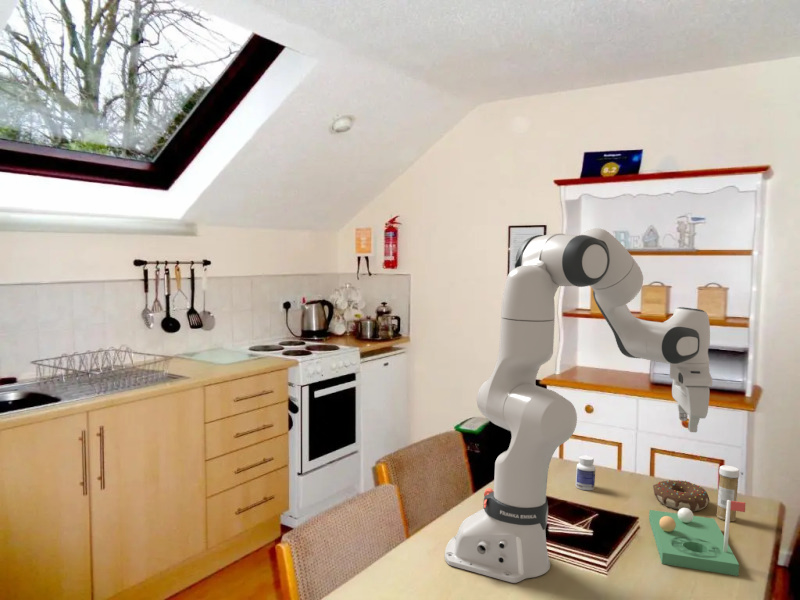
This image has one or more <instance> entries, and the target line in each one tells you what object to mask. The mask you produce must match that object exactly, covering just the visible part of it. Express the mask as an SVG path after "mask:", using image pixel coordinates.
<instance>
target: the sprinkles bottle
mask: <svg viewBox="0 0 800 600" xmlns="http://www.w3.org/2000/svg"><path fill="white" fill-rule="evenodd" d="M718 470H719V471H718V473H719V482H718V483H719V484H718V489H717V490H718V493H717V494H718V495H717V509H716V510H717V511H716V517H717V519H720V520H722V521H725V520H726V507H727V500H730V501H736V502H738V486H739V477H740V469H739V468H737V467H736V466H732V465H725V464H724V465H721V466H719V469H718ZM736 516H737V511H733V510H730V522H735V521H736V520H737V517H736Z"/></svg>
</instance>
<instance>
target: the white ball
mask: <svg viewBox="0 0 800 600" xmlns="http://www.w3.org/2000/svg"><path fill="white" fill-rule="evenodd" d="M677 514H678V518H679V519H680V520H681V521H682V522H684V523H689V522H691V521H692V520H693V516H694V514H693V511H691V510H690V509H688V508H681V509H680V510H678V511H677Z"/></svg>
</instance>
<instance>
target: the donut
mask: <svg viewBox="0 0 800 600" xmlns="http://www.w3.org/2000/svg"><path fill="white" fill-rule="evenodd" d="M652 489H653V493H654V497H655V498H656V500H657V501H658V502H660V503H661V504H663V505H664V506H666V507H668V508H671V509H674V510H678V511H679V510H680V509H681V508H688V509H690V510H691V511H692V512H697V511H698V512H699V511H701V510H703V509H705V508H706V507H707V506H709V503H710V496H709V495H708V492H707V491H706V490H705V489H704V488H703V486H701V485H697V484H696V483H692V482H691V481H687V480H679V479H678V480H675V479H673V480H671V479H669V480H662V481H659V482H657V483H656V484H653V485H652Z"/></svg>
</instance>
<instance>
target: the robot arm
mask: <svg viewBox="0 0 800 600" xmlns="http://www.w3.org/2000/svg"><path fill="white" fill-rule="evenodd" d="M643 283H644V275H643V271H642V270H641V267H640V266H639V264H638V263H637V262H636V260H635V259H634V257H633V256H632V254H631V253H629V251H628V249H627V248H626V247H625V246H624V245H623V243H621V242H620V241H619V240H618V239H617V237H615V236H614V235H613V234H612V233H610V232H609V231H607V230H606V229H604V228H603V229H602V228H600V227H599V228H597V227H596V228H590V229H587V230H586V231H584V232H583V233H581V234H579V235H575V234H565V233H552V234H545V235H543V234H538V235H534V236H531V237H529V238H527V239H525V240H524V241H522V243H521V244H520V245H519V247H518V249H517V252H516V256H515V263H514V268H513V269H511V271H509V273H508V274H507V276H506V280H505V284H504V289H503V293H502V299H501V300H502V301H501V311H500V332H499V347H498V348H499V349H498V354H497V359H496V362H495V366H494V369H493V370H492V373H491V375H490V376H489V378H488V379H487V380H485V381H484V382H483V383H482V384H481V385H480V387H479V388H478V391H477V396H476V404H477V408H478V410H479V412H480V413H481V414H482V415H483V417H485V418H486V419H487V420H488V421H490V422H491V423H492V424H494V425H495V426H498V427H500V428H502V429H504V430H507V431H508V432H510V434H511V437H510V438H511V439H510V443H509V445H508V446H509V447H508V448H507V450H505V451H503V452H502V453H500V454H499V455H498V456H497V458H496V460H495V462H494V475H493V476H494V479H493V481H494V482H493V489H492V487H487V488H486V489H484V493H483V497H484V498H483V504H482V505H483V508H481V509H480V510H478V511H476V512H475V513H472V514H470V515H468V516H467V517H466V518H465V519H464V520H463V521H462V522H461V523H460V526H459V528H458V530H457V533H456V535H455V536H453V537H452V538H450V540H449V541H448V543H447V544H446V546H445V550H444V560H445V562H446V563H447V564H448V565H449V566H452V567H455V568H459V569H462V570H464V571H465V570H466V571H468V572H469V571H470V572H473V573H476V574H479V575H484V576H487V577H490V578H494V579H498V580H501V581H505V582H507V583H513V584H516V583H518V582H519V583H520V582H521V581H524V580H526V579H530V578H536V577H540V576H542V575H544V574H546V573H547V572H548V571H549V570H550V568H551V562H550V559H549V554H548V548H547V547H548V546H547V537H546V528H547V525H548V520H549V519H548V517H549V505H548V499H547V485H548V475H549V468H550V463H551V461H552V458H553V456H554V453H555V451H556V450H557V449H558V448H559V447H560V446H561V445H562V444H565V443H566V442H567V441H568V440H569V439H570V438H571V437H572V435H573V434H574V433H575V430H576V428H577V423H578V415H577V414H578V413H577V410H576V408H575V405H574V404H573V403H572V402H571V401H570V400H569V399H567V398H566V397H564V396H563V395H561V394H559V393H558V392H556V391H554V390H551V389H549V388H545V387H542V386H539V385H536V384H537V383H536V379H537V376H538V374H539V370H540V368H541V366H542V365H545V364H547V363H548V362H549V361H550V360H551V358H552V356H553V353H554V343H555V341H554V340H555V321H556V320H555V315H556V314H555V312H556V311H555V309H556V308H555V295H556V292H557V291H558V289H559V287H577V288H582V287H590V288H591V289H592V290H593V291H592V295H593V300H594V302H595V304H596V306H597V308H598V310H599V311H600V313H601V314H602V316H603V318H604V320H605V321H606V322H607V325H608V326H609V328H610V329H611V331H612V333H613V335H614V338H615V339H614V340H615V342H616V344H617V347H618V349H619V351H620V352H621V354H622V355H624V356H625V357H628V358H631V359H642V360H646V361H652V362H657V363H658V362H659V363H662V364H663V363H664V364H669V378H671V379H672V383H671V384H672V385H671V396H672V399H674V400H675V402H676V403H677V410H678V419H679V420H680V421H681V422H686V421H688V423H687V430H688V431H689V432H690V433H697V432H698V425H699V423H700V419H706V418H707V415H708V412H709V406H710V388H711V387H713V377H712V376H711V373H710V372H711V371H710V370H711V369H710V357H709V347H710V344H711V328H710V327H711V326H710V318H709V315H708V313H707V312H706V311H705V310H703V309H700V308H692V307H685V306H684V307H683V306H680V307H675V308H674V310H673V313H672V314H673V315H672V316H671V317H669V318H668V319H667V320H665V321H663V322H659V321H651V320H645V319H641V318H638V317H636V316H634V315H633V314H632V312H631V310H630V309H629V306H628V305H627V304H629V303H630V302H632V300H634V299H635V298H636V297H637V295H639V293H640V291H641V289H642V288H643ZM688 419H689V420H688Z"/></svg>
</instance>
